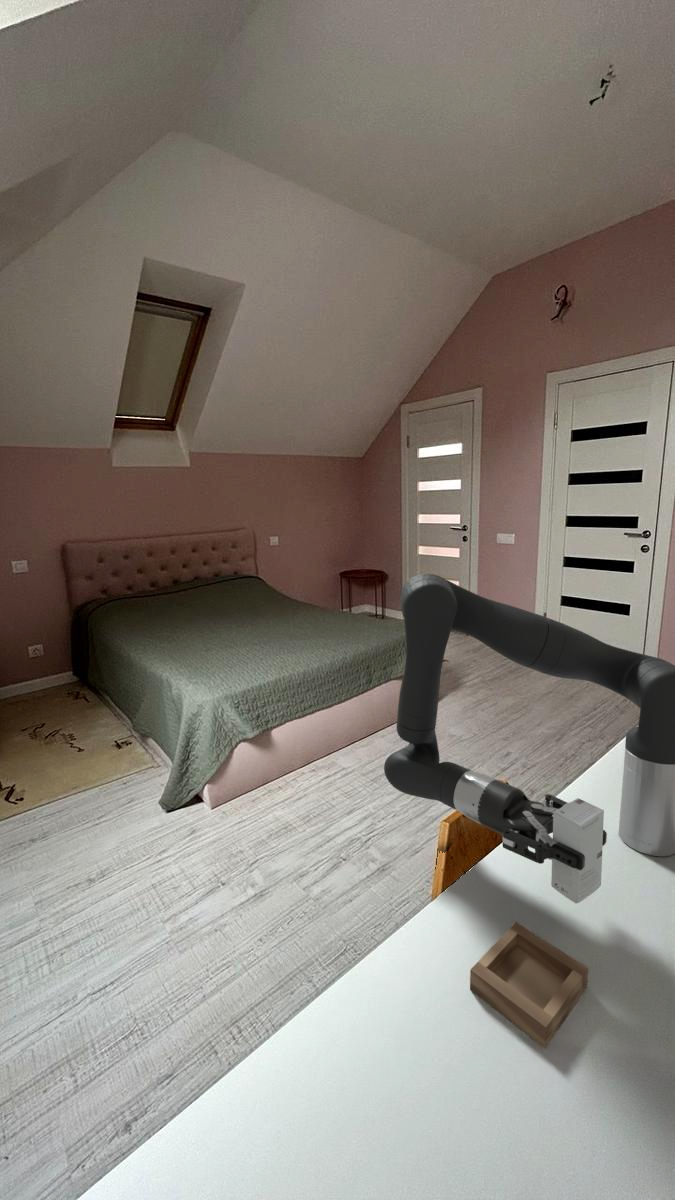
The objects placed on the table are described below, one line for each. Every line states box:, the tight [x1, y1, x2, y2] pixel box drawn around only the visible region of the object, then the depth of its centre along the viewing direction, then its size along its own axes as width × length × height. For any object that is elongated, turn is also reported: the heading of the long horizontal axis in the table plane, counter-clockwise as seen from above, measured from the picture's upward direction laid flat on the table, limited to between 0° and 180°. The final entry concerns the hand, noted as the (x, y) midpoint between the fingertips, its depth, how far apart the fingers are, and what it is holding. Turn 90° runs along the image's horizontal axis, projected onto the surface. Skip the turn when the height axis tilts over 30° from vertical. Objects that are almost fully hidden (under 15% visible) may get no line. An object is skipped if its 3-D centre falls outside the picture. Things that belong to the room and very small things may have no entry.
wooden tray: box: [469, 921, 590, 1050], centre depth 65 cm, size 11×10×3 cm
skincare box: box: [550, 797, 605, 904], centre depth 73 cm, size 6×4×12 cm
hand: (594, 850), depth 71 cm, fingers closed on skincare box, 6 cm apart
